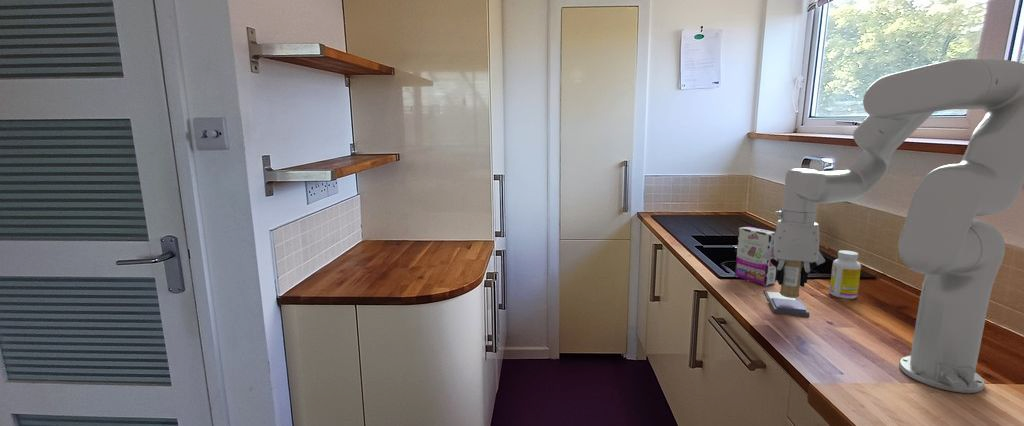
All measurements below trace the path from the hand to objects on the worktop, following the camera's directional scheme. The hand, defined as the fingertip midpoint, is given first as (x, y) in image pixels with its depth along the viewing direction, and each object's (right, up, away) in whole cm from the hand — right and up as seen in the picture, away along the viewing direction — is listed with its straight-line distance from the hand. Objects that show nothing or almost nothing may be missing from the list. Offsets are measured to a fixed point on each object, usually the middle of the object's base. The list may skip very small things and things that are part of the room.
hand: (790, 283), depth 127 cm
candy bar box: (+3, -3, +24) cm, 25 cm away
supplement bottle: (+21, -5, +11) cm, 25 cm away
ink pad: (0, -7, +1) cm, 7 cm away
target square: (+3, -5, +10) cm, 11 cm away
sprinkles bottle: (0, -3, +1) cm, 4 cm away
